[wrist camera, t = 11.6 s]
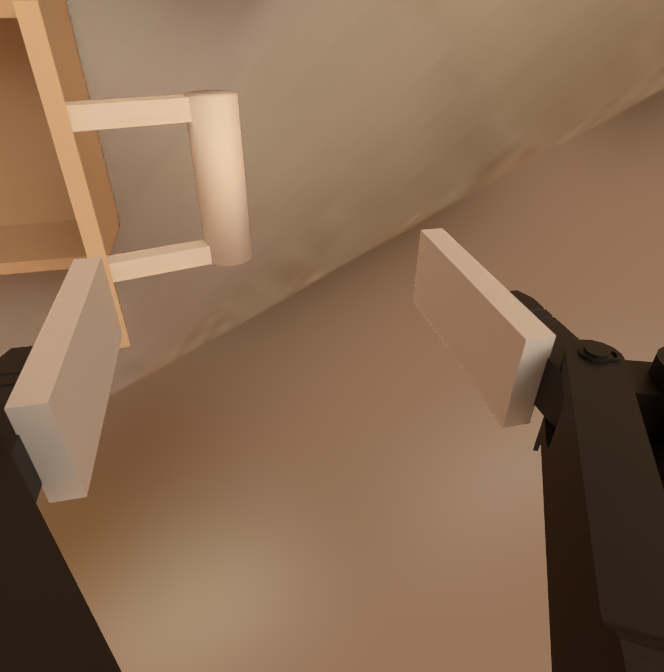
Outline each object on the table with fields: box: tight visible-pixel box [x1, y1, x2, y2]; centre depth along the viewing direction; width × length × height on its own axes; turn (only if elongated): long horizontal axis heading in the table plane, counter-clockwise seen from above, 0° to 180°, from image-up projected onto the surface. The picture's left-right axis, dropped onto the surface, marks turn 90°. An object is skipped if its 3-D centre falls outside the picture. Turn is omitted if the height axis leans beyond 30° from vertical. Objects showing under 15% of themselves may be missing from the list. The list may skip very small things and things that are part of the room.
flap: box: [12, 0, 252, 349], centre depth 27 cm, size 15×10×8 cm
